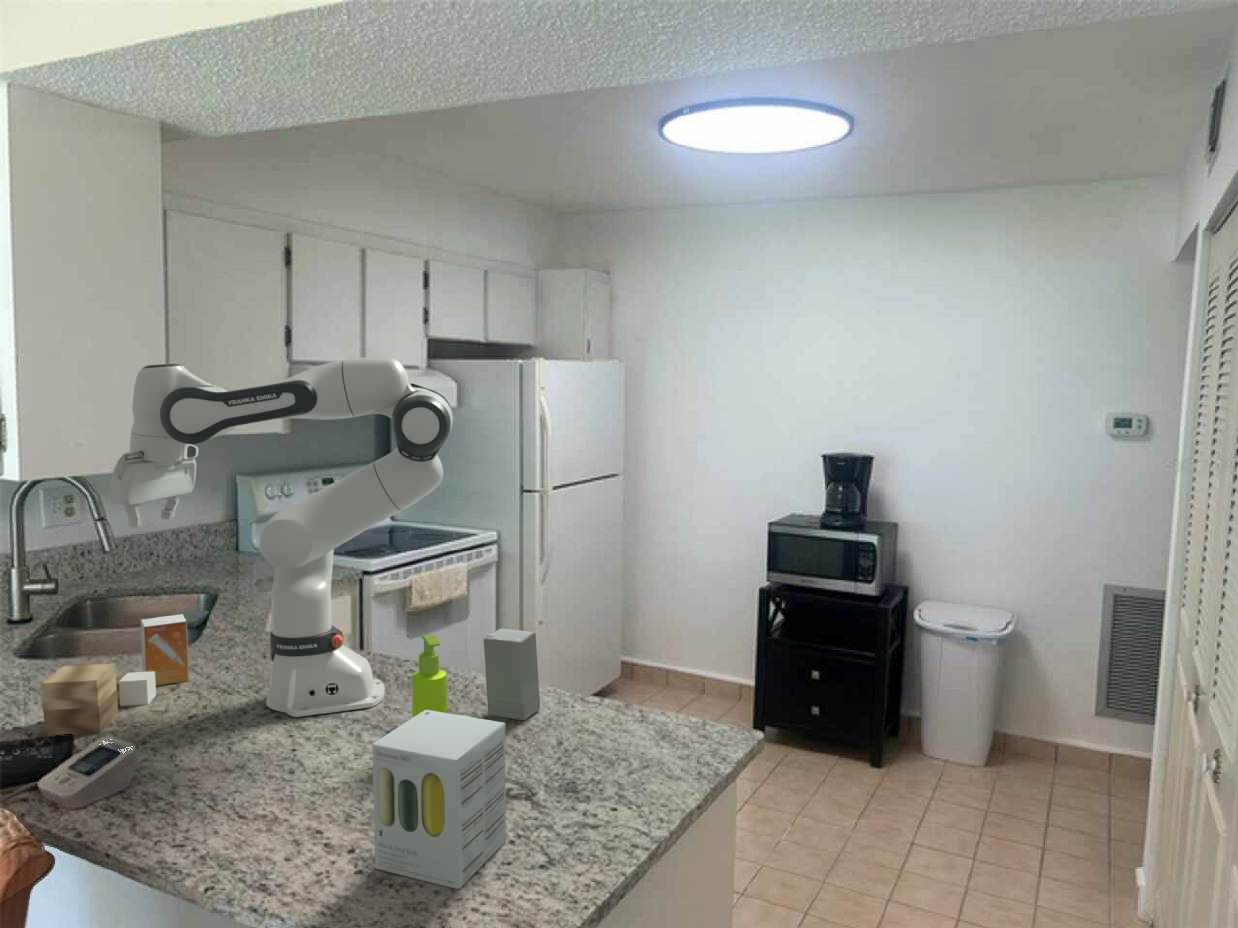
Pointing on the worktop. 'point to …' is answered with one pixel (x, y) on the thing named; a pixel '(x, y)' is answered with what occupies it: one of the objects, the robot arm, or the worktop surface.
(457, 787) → the supplement box
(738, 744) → the worktop surface
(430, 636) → the soap dispenser
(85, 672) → the tower top
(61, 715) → the block
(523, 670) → the skincare box
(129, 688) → the cube
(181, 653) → the small box
